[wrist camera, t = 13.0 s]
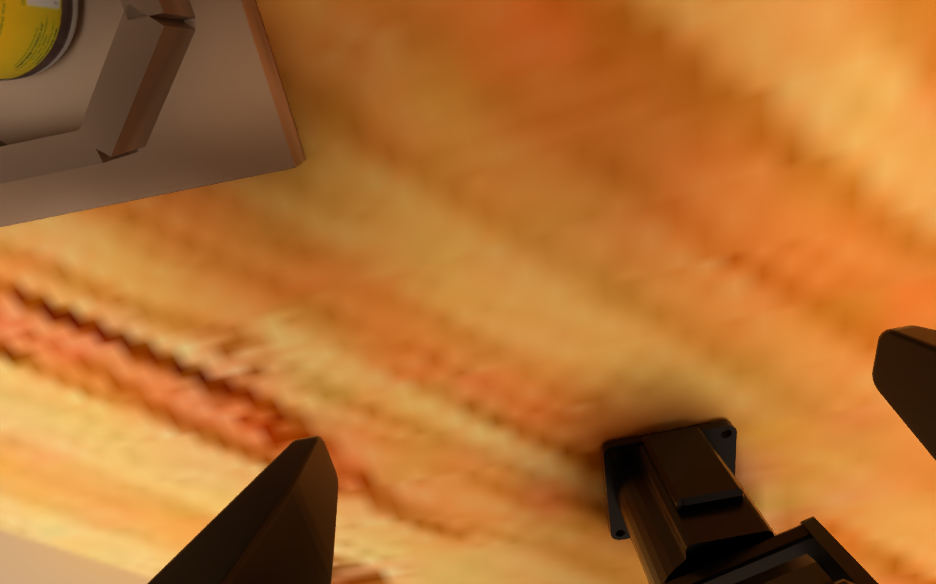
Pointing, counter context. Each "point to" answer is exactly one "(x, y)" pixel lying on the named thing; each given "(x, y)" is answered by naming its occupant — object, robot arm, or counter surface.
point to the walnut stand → (144, 109)
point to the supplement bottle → (34, 35)
